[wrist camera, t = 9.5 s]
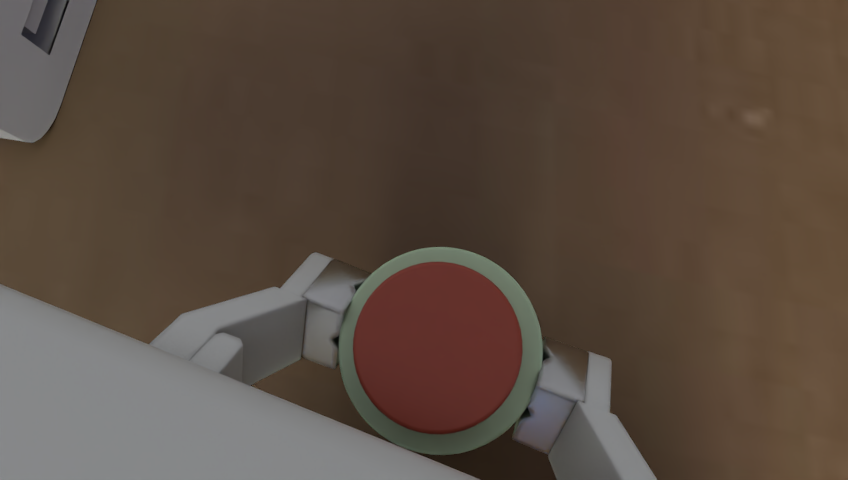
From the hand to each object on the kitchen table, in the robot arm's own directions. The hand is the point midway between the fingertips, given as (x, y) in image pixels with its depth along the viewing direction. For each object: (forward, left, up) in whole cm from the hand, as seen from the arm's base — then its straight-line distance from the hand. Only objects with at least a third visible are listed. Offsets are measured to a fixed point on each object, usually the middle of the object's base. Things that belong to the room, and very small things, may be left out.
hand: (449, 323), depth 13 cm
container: (-1, 0, -4) cm, 4 cm away
